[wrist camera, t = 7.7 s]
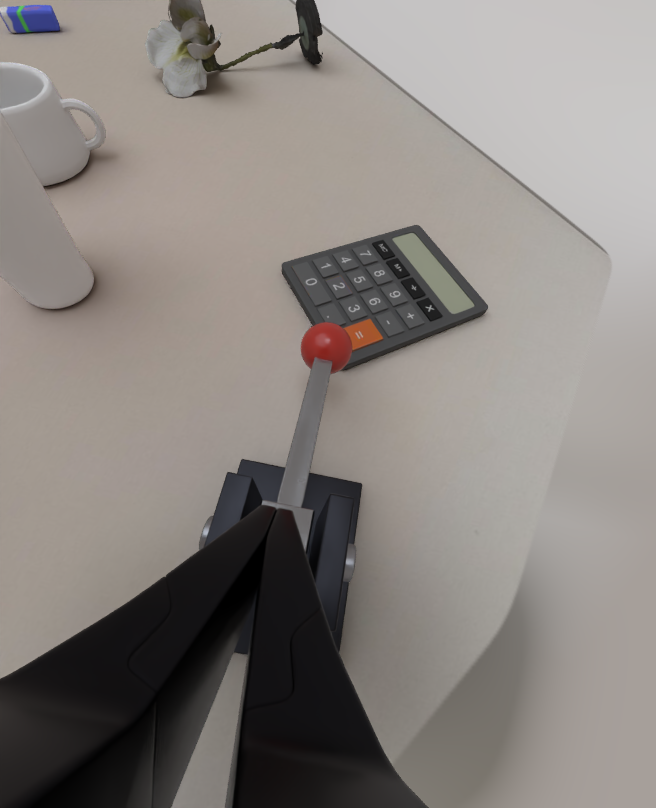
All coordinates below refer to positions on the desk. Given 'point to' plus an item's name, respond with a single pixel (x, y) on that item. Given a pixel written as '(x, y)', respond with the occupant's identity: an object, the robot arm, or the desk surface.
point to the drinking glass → (35, 235)
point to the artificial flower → (212, 45)
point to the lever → (311, 417)
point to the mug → (46, 123)
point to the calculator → (384, 291)
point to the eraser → (29, 18)
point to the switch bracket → (328, 537)
